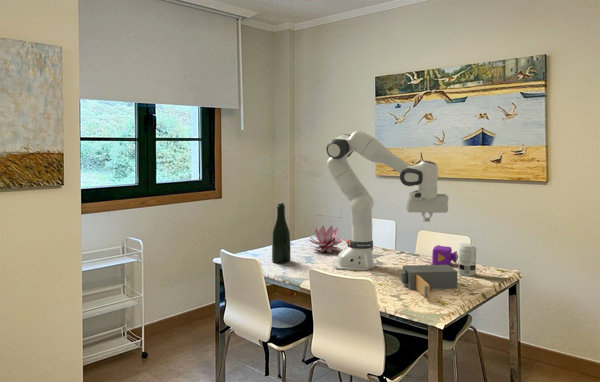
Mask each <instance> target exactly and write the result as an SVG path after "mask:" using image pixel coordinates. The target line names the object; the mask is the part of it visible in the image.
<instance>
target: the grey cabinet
mask: <svg viewBox="0 0 600 382" xmlns="http://www.w3.org/2000/svg"><path fill="white" fill-rule="evenodd" d="M458 274H459V273H458V270H456V269H454V268H453V267H452V266H451V265H433V264H429V265H428V264H426V265H425V264H422V265H420V264H417V265H415V264H414V265H411V264H410V265H402V271H401V273H400V279H401V283H402V284H403V285H405V286H406V287H407V289H408V290H412V291H414V290H418V289H417V288H416V275H419V276H420V277H421V278H422V279H423V280H424V281H425V282H427V283H428V284H429V285H430V290H449V289H451V290H452V289H454V290H455V289H458Z"/></svg>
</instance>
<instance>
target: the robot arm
mask: <svg viewBox="0 0 600 382" xmlns="http://www.w3.org/2000/svg"><path fill="white" fill-rule="evenodd" d="M325 150H326V154H327V156H328V157H329V158H328V160H327V161H326V166H327V169H328V172H329V173H330V175H331V177H332V178H333V181H334V182H335V183H336V185H337V186H338V188H339V190H340V191H341V192H342V194H343V195H344V196H345V197H346V198H347V199H348V201H349V203H350V221H351V239H350V240H349V239H346V241H345V243H346V244H347V247H346V248H344V249H343V250H342V251H339V253H338V255H337V259H336V261H334V262H332V267H333V266H334V267H335V269H336V268H337V269H336V270H343V269H345V270H347V271H349V270H351V271H367V270H370V269H373V268H375V265H376V264H375V260H374V255H373V250H374V241H373V220H372V219H373V217H372V215H373V214H372V213H373V211H372V210H373V207H374V199H373V197H372V195H370V193H369V191H368V190H367V189H366V187H365V186H364V185H363V184H362V182H361V181H360V180H359V178H358V176H357V175H356V173H355V172H354V170H353V168H352V167H351V165H350V164H349V162H348V158H349V157H351V155H352V154H353V153H354V152H355V153H357V154H359V155H360V156H362V157H363V158H364V159H366V160H368V161H370V162H372V163H377V164H383V165H385V166H388V167H390V168H391V169H392V170H394V171H396V172H397V173H399V181H400V182H401V183H402V184H403V185H404V186H406V187H413V186H418V189H417V190H416V189H415V190H413V191H410V192H409V193H408V196H409V197H408V199H407V202H406V208H405V209H406V211H407V212H408V213H421V216H422V218H423V219H422V220H423V222H424V223H425V222H428V223H429V222H431V218H432V216H433V213H434V214H436V213H437V214H438V213H439V214H441V213H443V214H445V213H447V212H449V196H448V195H447V193H446V194H445V193H438V181H439V180H438V179H439V168H438V164H437V163H436V162H434V161H431V160H422V161H420V162H419V163H417V164H409V163H407V162H406V161H404V160H402V159H400V157H398V156H397V155H395V154H393V153H392V151H390V150H389V149H388V148H387V147H386V146H385V145H383V144H382V143H381V142H380V141H379V140H378V139H376V138H375V137H374V136H372V135H370V134H369V133H366V131H362V130H355V131H353V132H352V133H351V134H349V133H348V134H342V135H338V136H336V137H335V138H333V139H331V140H330V141H329V142H328V143H327V145H326V148H325ZM426 213H428V216H427V217H426ZM334 267H333V268H334ZM345 270H344V271H345Z"/></svg>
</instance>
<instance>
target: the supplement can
mask: <svg viewBox="0 0 600 382" xmlns="http://www.w3.org/2000/svg"><path fill="white" fill-rule="evenodd" d="M476 261H477V247H476V245H475V244H471V243H462V244H459V247H458V263H457V264H458V266H457V267H458V268H457V271H458V274H459V275H460V276H463V277H474V276H475V275H476V271H477V270H476V265H477V264H476V263H477V262H476Z"/></svg>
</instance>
